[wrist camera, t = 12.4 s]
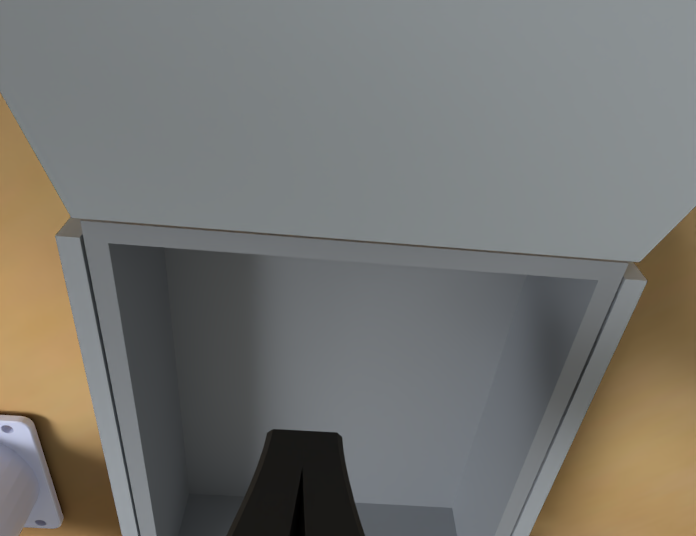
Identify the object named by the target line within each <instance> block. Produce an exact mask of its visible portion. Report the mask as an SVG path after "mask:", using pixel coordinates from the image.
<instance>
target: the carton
mask: <svg viewBox="0 0 696 536" xmlns="http://www.w3.org/2000/svg"><path fill="white" fill-rule="evenodd" d="M55 237H56V242H57V246H58V251H59V255H60V260H61V264H62V269H63V273H64V278H65V282H66V287H67V291H68V296H69V300H70V305H71V309H72V314H73V318H74V322H75V327H76V331H77V336H78V340H79V345H80V349H81V354H82V358H83V363H84V367H85V372H86V376H87V381H88V385H89V390H90V394H91V399H92V403H93V408H94V412H95V416H96V421H97V425H98V430H99V434H100V439H101V443H102V448H103V452H104V457H105V461H106V466H107V470H108V475H109V479H110V484H111V488H112V493H113V497H114V502H115V506H116V510H117V515H118V519H119V524H120V528H121V533H122V536H226V535H227V533H228V531H229V529H230V527H231V525H232V523H233V520H234V518H235V516H236V514H237V512H238V510H239V508H240V506H241V503H242V501H243V499H244V497H245V495H246V492H247V490H248V487H249V485H250V483H251V480H252V478H253V475H254V473H255V470H256V468H257V465H258V462H259V459H260V456H261V453H262V450H263V447H264V443H265V439H266V435H267V432H269V431H271V430H272V429H284V430H302V431H321V432H337V433H338V434H339V435H341V436H342V441H343V450H344V456H345V462H346V468H347V472H348V477H349V481H350V485H351V489H352V493H353V497H354V501H355V504H356V508H357V511H358V515H359V518H360V521H361V524H362V527H363V531H364V534H365V536H529V534H530V532H531V530H532V528H533V526H534V523H535V521H536V519H537V517H538V515H539V513H540V511H541V508H542V506H543V504H544V502H545V500H546V498H547V496H548V493H549V491H550V489H551V487H552V485H553V483H554V481H555V478H556V476H557V474H558V472H559V470H560V468H561V465H562V463H563V461H564V459H565V457H566V455H567V453H568V450H569V448H570V446H571V444H572V442H573V440H574V438H575V435H576V433H577V431H578V429H579V427H580V425H581V423H582V420H583V418H584V416H585V414H586V412H587V410H588V408H589V405H590V403H591V401H592V399H593V397H594V395H595V393H596V390H597V388H598V386H599V384H600V382H601V380H602V378H603V375H604V373H605V371H606V369H607V367H608V365H609V363H610V360H611V358H612V356H613V354H614V352H615V350H616V348H617V345H618V343H619V341H620V339H621V337H622V335H623V333H624V330H625V328H626V326H627V324H628V322H629V320H630V317H631V315H632V313H633V311H634V309H635V307H636V305H637V302H638V300H639V298H640V296H641V294H642V292H643V290H644V287H645V285H646V283H647V280H646V278H645V277H644V276H643V274H642V273H641V272H640V270H639V269H638V268H637V266H636V265H635V264H634V262H631V261H619V260H606V259H593V258H580V257H567V256H554V255H542V254H529V253H516V252H503V251H490V250H477V249H465V248H452V247H439V246H426V245H413V244H400V243H387V242H375V241H362V240H349V239H336V238H323V237H310V236H298V235H285V234H272V233H259V232H246V231H233V230H221V229H208V228H195V227H182V226H169V225H156V224H144V223H131V222H118V221H105V220H92V219H79V218H71V217H70V219H69V220H68V221H67V222H66V223H65V225H64V226H63V227H62V228H61V229H60V231H59V232H58V233H57V234H56V235H55Z"/></svg>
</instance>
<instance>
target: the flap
mask: <svg viewBox="0 0 696 536" xmlns="http://www.w3.org/2000/svg"><path fill="white" fill-rule="evenodd" d="M0 92H1V94H2V96H3V98H4V100H5V101H6V103H7V105H8V107H9V108H10V110H11V112H12V114H13V115H14V117H15V119H16V121H17V122H18V124H19V126H20V128H21V130H22V131H23V133H24V135H25V137H26V138H27V140H28V142H29V144H30V145H31V147H32V149H33V151H34V152H35V154H36V156H37V158H38V160H39V161H40V163H41V165H42V167H43V168H44V170H45V172H46V174H47V175H48V177H49V179H50V181H51V182H52V184H53V186H54V188H55V190H56V191H57V193H58V195H59V197H60V198H61V200H62V202H63V204H64V205H65V207H66V209H67V211H68V212H69V214H70V216H71V218H79V219H92V220H105V221H118V222H131V223H144V224H156V225H169V226H182V227H195V228H208V229H221V230H233V231H246V232H259V233H272V234H285V235H298V236H310V237H323V238H336V239H349V240H362V241H375V242H387V243H400V244H413V245H426V246H439V247H452V248H465V249H477V250H490V251H503V252H516V253H529V254H542V255H554V256H567V257H580V258H593V259H606V260H619V261H631V262H640V261H641V260H642V259H643V258H644V257H645V256H646V255H647V254H648V253H649V252H650V251H651V250H652V249H653V248H654V247H655V246H656V245H657V244H658V243H659V242H660V241H661V240H662V239H663V238H664V237H665V236H666V235H667V234H668V233H669V232H670V231H671V230H672V229H673V228H674V227H675V226H676V225H677V224H678V223H679V222H680V221H681V220H682V219H683V218H684V217H685V216H686V215H687V214H688V213H689V212H690V211H691V210H692V209H693V208H694V207H695V206H696V0H0Z"/></svg>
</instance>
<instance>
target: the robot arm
mask: <svg viewBox="0 0 696 536" xmlns="http://www.w3.org/2000/svg"><path fill="white" fill-rule="evenodd" d="M63 520H64V517H63V514H62V511H61V508H60V504H59V501H58V498H57V495H56V492H55V489H54V485H53V482H52V479H51V476H50V473H49V469H48V466H47V463H46V460H45V457H44V453H43V450H42V447H41V444H40V441H39V437H38V434H37V431H36V428H35V425H34V423H33V421H32V420H31V419H29V418H27V417H24V416H14V415H0V536H19V535H20V533H21V531H22V529H23V527H32V528H51V529H53V528H58V527H60V526H61V524H62V522H63ZM226 536H365V534H364V531H363V527H362V524H361V521H360V518H359V515H358V511H357V508H356V504H355V501H354V497H353V493H352V489H351V485H350V481H349V477H348V472H347V468H346V462H345V456H344V450H343V441H342V436H341V435H339V434H338V433H337V432H321V431H302V430H284V429H272V430H271V431H269V432H267V435H266V439H265V443H264V447H263V450H262V453H261V456H260V459H259V462H258V465H257V468H256V470H255V473H254V475H253V478H252V480H251V483H250V485H249V487H248V490H247V492H246V495H245V497H244V499H243V501H242V503H241V506H240V508H239V510H238V512H237V514H236V516H235V518H234V520H233V523H232V525H231V527H230V529H229V531H228V533H227V535H226Z"/></svg>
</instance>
